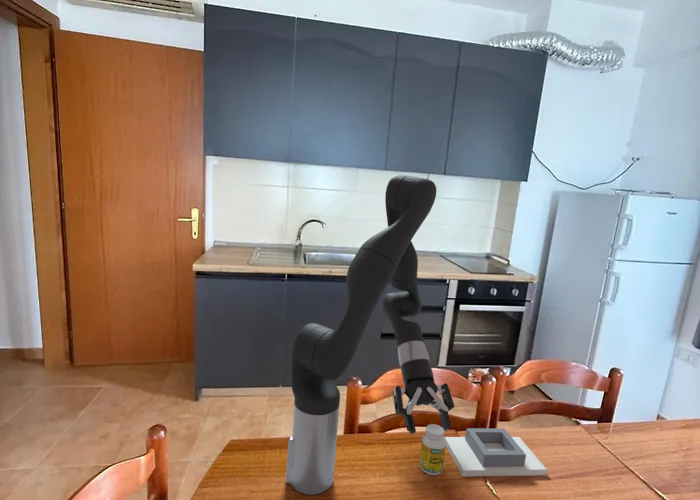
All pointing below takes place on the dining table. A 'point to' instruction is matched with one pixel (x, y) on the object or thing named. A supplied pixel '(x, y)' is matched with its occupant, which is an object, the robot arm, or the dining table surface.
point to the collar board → (493, 454)
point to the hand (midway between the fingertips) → (430, 431)
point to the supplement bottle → (433, 450)
